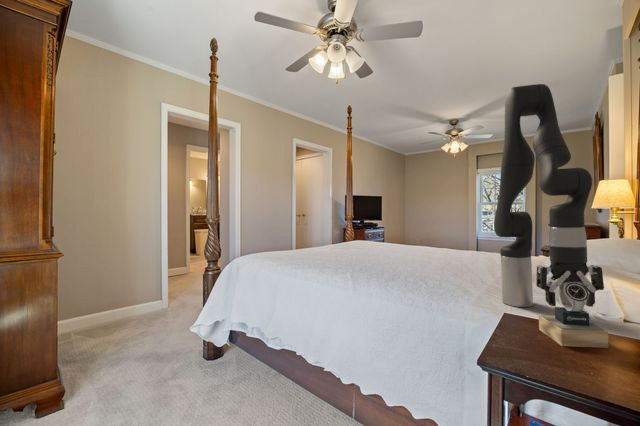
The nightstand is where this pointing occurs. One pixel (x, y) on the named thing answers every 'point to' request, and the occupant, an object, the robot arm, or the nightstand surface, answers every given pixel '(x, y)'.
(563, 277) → the robot arm
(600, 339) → the oak riser
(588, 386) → the nightstand surface
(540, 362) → the nightstand surface
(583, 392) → the nightstand surface
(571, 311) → the watch
